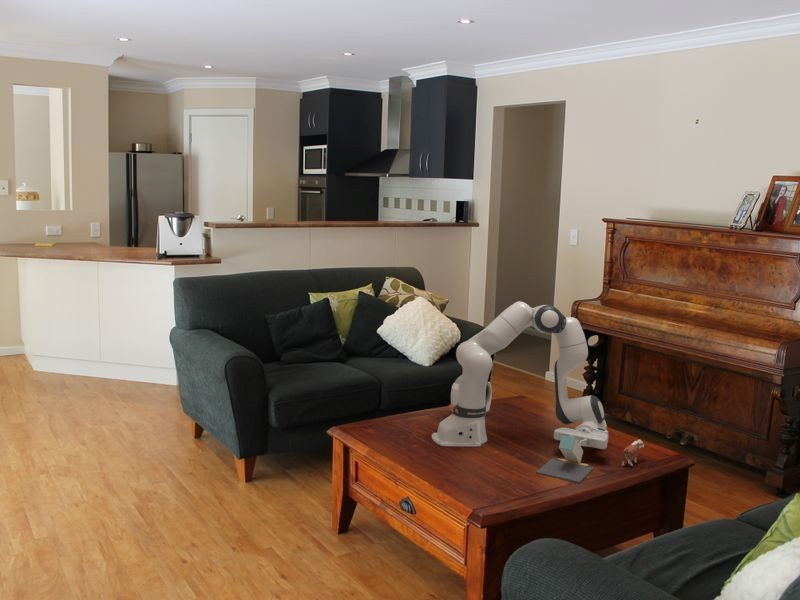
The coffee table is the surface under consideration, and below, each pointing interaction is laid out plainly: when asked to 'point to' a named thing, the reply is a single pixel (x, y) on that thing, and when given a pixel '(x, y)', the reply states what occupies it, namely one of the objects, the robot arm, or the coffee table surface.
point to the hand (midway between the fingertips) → (574, 442)
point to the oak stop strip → (572, 462)
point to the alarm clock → (455, 393)
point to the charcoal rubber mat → (565, 470)
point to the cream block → (571, 448)
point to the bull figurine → (632, 451)
